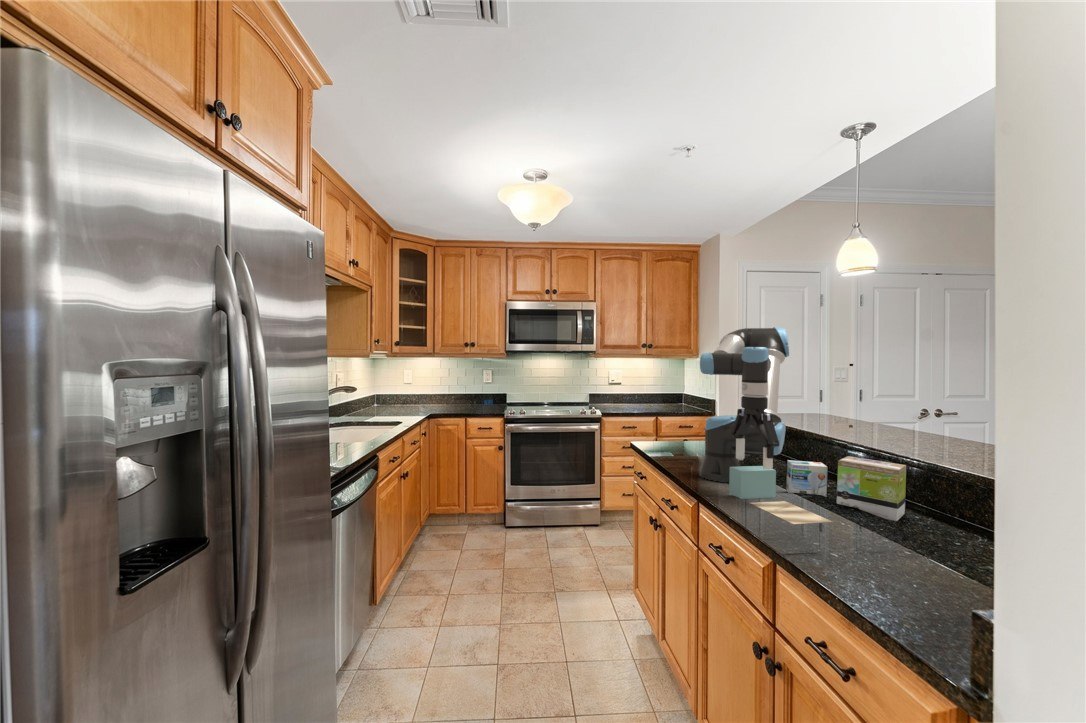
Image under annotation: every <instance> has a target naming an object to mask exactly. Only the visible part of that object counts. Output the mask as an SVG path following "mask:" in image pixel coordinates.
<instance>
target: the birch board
mask: <svg viewBox="0 0 1086 723" xmlns="http://www.w3.org/2000/svg"><path fill="white" fill-rule="evenodd" d="M750 504H751V505H753V506H754V507H757V508H759V509H761V510H763V511H765V512H768V513H770V514H772V515H774V516H776V517H778V518H780V519H782V520H783V521H785V522H788V523H790V524H792V525H803V524H805V525H806V524H823V523H834V521H833V520H830V519H828V518H825V517H823V516H821V515H819V514H816V513H814V512H812V511H809V510H807V509H804V508H803V507H799V506H797V505H795V504H793V503H791V502H788V501H786V500H783V501H761V502H750Z"/></svg>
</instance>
